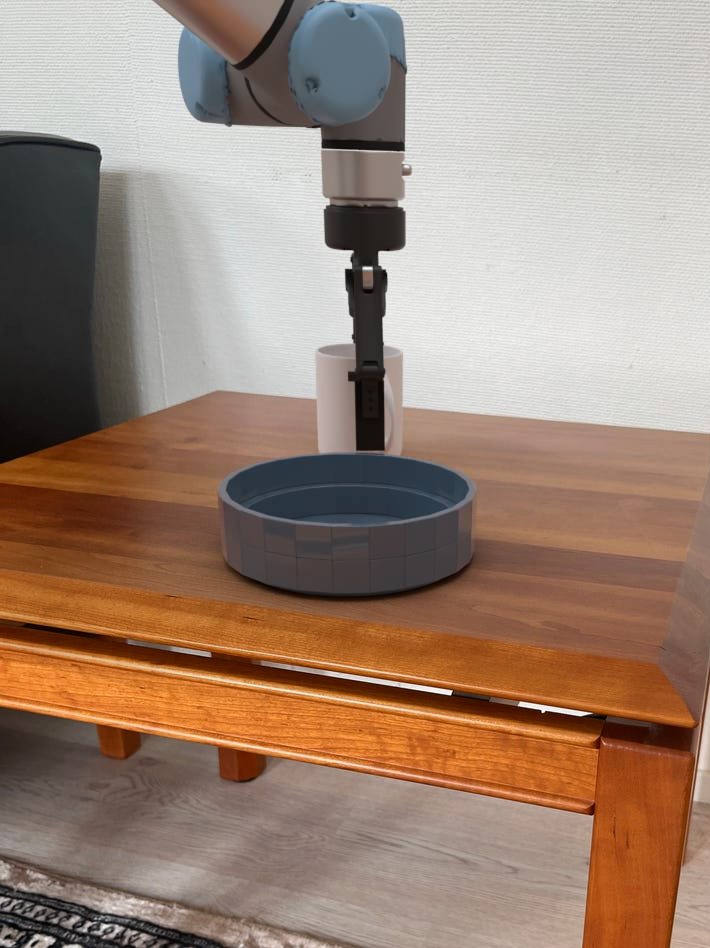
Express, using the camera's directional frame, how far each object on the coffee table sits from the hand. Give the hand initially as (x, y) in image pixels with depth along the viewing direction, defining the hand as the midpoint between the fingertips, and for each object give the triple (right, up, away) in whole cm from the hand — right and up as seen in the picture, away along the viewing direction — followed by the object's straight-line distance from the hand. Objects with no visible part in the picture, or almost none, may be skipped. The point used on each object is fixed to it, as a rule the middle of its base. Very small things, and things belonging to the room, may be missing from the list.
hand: (368, 432), depth 103 cm
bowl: (+1, -14, -23) cm, 27 cm away
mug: (0, -3, +1) cm, 3 cm away
